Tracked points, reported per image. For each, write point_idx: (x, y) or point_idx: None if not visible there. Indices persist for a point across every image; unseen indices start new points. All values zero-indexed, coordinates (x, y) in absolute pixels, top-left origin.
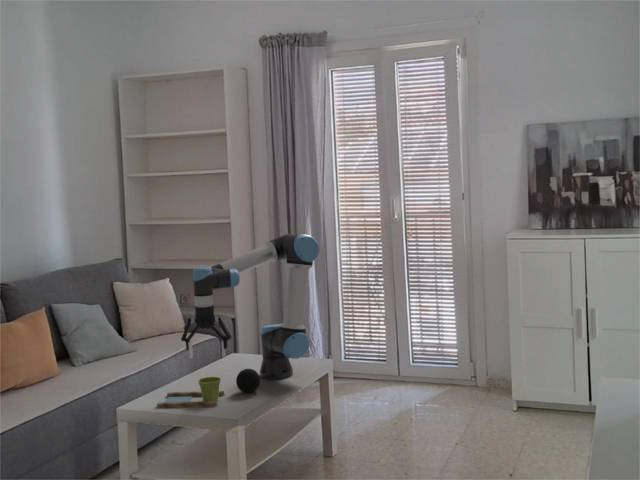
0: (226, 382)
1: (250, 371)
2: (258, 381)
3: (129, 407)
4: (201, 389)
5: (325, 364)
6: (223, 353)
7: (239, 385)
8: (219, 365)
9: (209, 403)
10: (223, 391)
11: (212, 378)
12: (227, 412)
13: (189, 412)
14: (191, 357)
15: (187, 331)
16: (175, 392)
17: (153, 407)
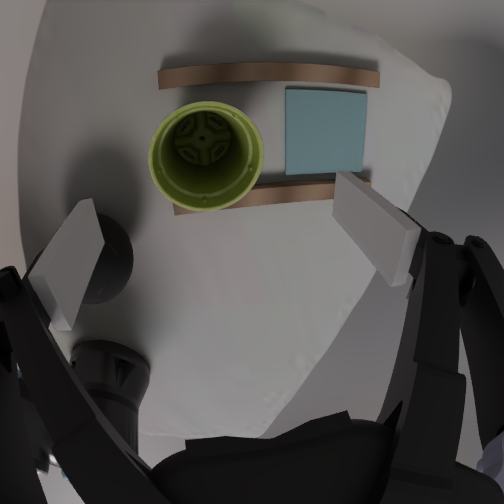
0: (216, 317)
1: None
2: None
3: (440, 96)
4: (235, 121)
5: None
6: (71, 213)
7: (106, 219)
8: (275, 400)
9: (183, 67)
10: (174, 208)
11: (207, 203)
12: (97, 17)
13: (244, 6)
14: (336, 184)
15: (500, 308)
16: None
17: (384, 79)
